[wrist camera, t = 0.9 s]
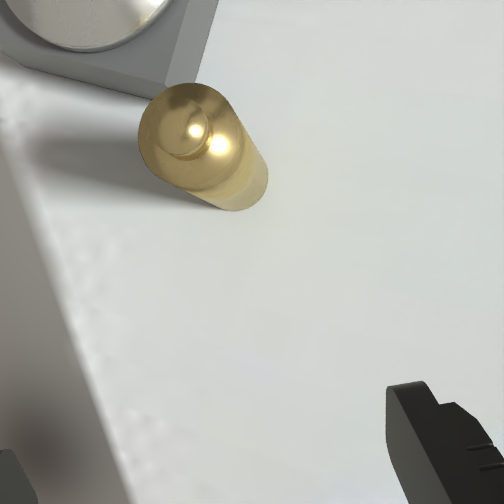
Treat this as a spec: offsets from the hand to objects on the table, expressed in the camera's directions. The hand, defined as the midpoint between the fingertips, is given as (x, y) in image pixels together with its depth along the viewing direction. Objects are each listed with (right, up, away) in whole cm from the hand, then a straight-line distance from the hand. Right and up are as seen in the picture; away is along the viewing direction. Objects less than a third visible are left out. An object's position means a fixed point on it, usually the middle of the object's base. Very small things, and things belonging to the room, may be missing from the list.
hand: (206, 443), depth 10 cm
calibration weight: (0, +10, +24) cm, 26 cm away
